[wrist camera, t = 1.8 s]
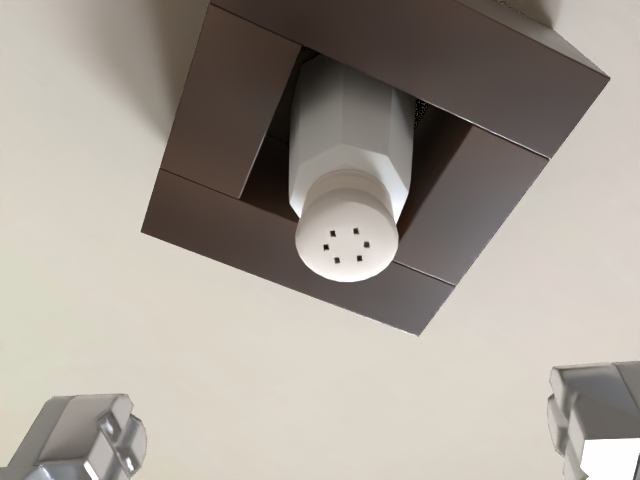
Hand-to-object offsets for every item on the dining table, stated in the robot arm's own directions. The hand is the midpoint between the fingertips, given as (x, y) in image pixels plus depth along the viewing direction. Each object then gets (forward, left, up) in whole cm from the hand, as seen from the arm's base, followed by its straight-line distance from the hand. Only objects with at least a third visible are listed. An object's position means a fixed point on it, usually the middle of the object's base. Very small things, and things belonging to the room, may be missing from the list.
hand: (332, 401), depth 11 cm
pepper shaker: (0, 0, -16) cm, 16 cm away
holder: (0, 0, -16) cm, 16 cm away
